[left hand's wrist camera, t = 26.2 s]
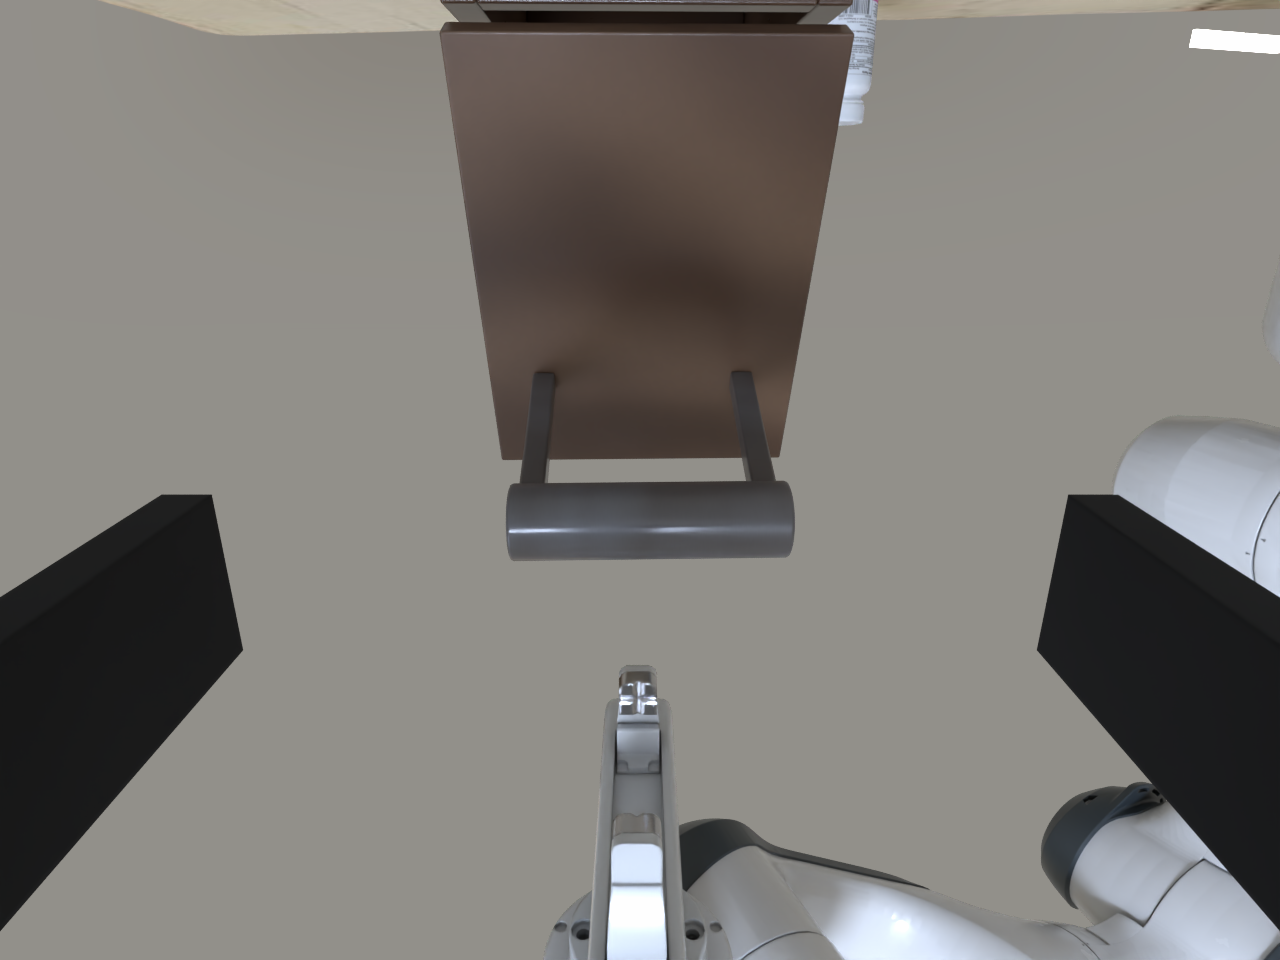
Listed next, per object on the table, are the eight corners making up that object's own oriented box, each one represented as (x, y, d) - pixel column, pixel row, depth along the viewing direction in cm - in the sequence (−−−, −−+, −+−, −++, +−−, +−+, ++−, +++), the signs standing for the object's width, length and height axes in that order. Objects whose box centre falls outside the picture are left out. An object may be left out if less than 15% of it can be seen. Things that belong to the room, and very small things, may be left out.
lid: (776, 442, 29) (819, 627, 23) (504, 444, 29) (475, 632, 23) (847, 23, 19) (952, 150, 13) (444, 21, 19) (368, 150, 13)
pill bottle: (826, 1, 57) (817, 127, 60) (796, -12, 54) (788, 123, 57) (890, -9, 55) (877, 124, 58) (863, -22, 51) (851, 120, 54)
